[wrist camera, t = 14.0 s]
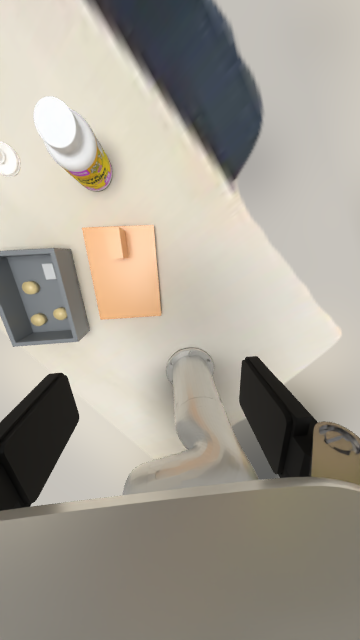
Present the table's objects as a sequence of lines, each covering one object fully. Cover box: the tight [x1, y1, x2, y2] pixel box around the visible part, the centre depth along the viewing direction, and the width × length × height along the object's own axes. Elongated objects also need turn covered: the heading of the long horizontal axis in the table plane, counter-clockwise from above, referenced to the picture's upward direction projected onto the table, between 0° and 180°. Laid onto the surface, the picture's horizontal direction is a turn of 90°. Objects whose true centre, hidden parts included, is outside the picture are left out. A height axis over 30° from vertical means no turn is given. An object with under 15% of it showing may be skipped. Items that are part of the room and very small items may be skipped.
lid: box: [82, 225, 161, 320], centre depth 37 cm, size 19×14×7 cm
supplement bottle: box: [34, 96, 112, 191], centre depth 27 cm, size 7×7×13 cm
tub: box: [0, 248, 90, 347], centre depth 37 cm, size 18×13×6 cm
